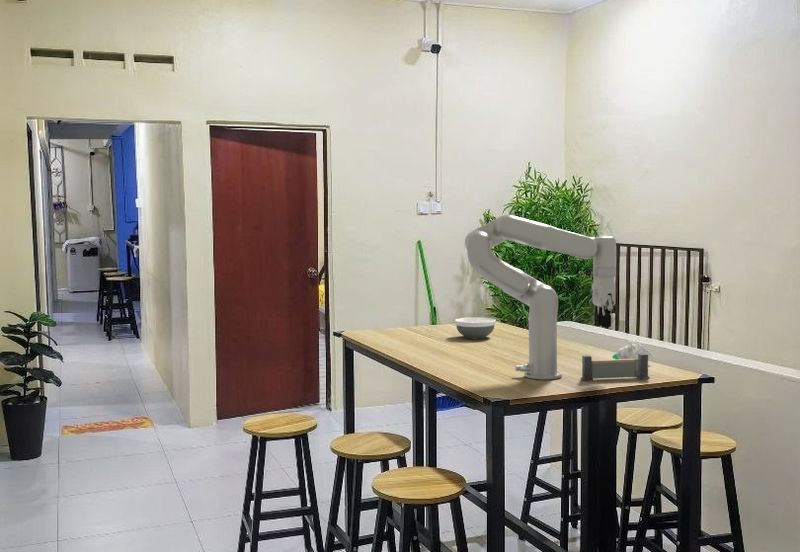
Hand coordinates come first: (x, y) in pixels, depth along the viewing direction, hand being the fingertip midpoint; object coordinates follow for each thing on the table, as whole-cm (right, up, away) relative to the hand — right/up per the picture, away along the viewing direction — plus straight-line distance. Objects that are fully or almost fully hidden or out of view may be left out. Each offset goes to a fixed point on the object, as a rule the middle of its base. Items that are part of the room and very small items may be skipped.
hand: (604, 325), depth 272 cm
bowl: (-35, -11, +91) cm, 98 cm away
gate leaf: (+2, -17, -5) cm, 18 cm away
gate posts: (+2, -17, -5) cm, 18 cm away
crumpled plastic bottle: (+14, -16, +19) cm, 28 cm away
